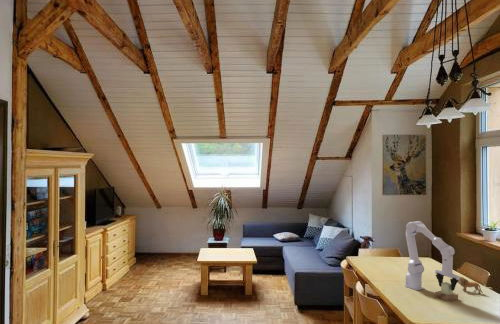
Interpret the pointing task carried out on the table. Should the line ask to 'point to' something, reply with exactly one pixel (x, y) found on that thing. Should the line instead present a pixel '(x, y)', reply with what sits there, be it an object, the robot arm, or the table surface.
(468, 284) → the lion figurine
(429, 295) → the table surface
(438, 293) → the walnut block
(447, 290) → the sage block
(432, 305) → the table surface
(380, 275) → the table surface
